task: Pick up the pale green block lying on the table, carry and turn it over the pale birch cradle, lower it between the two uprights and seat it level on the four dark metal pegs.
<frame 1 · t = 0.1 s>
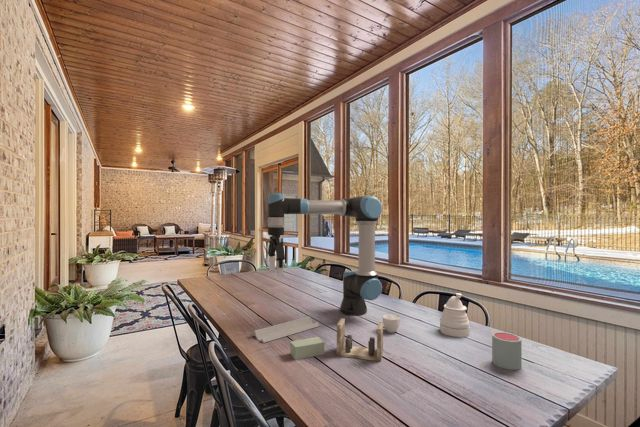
hand: (275, 272, 146), 28 cm above the table, fingers open, 13 cm apart
cup: (392, 331, 149), on the table
pale green block: (307, 354, 124), on the table
honey pot: (454, 332, 147), on the table
crown molding: (286, 332, 148), on the table
frame: (360, 353, 123), on the table
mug: (506, 361, 117), on the table
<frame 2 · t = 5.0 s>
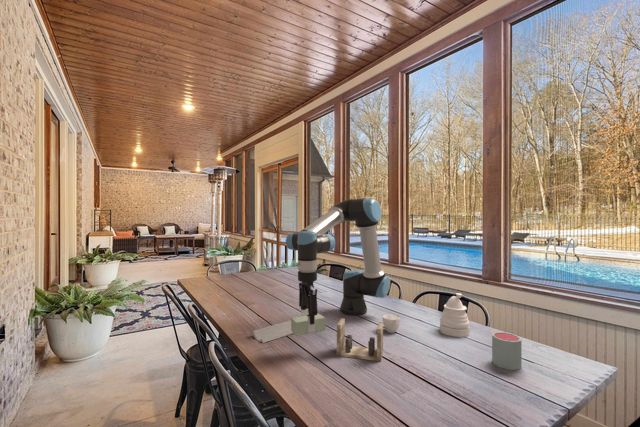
hand: (308, 328, 124), 10 cm above the table, fingers closed on pale green block, 6 cm apart
pale green block: (308, 330, 124), point 9 cm above the table, touching gripper
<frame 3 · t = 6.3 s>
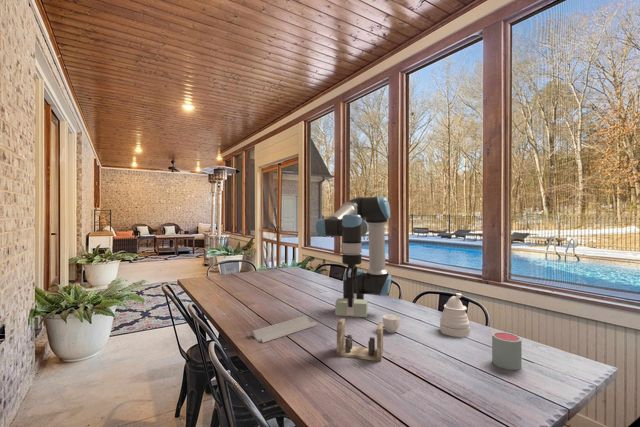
hand: (351, 312, 124), 16 cm above the table, fingers closed on pale green block, 6 cm apart
pale green block: (351, 313, 124), point 16 cm above the table, touching gripper
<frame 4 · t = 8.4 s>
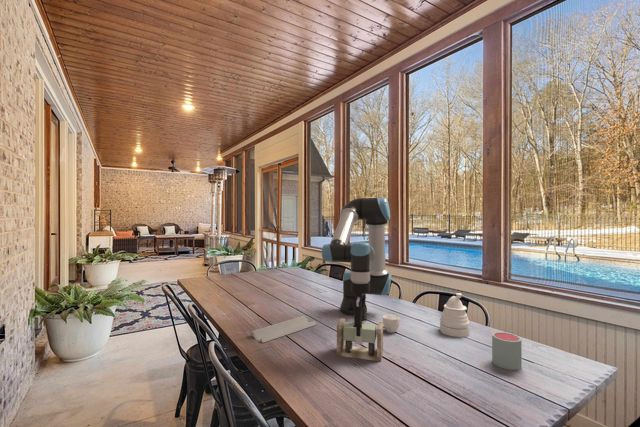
hand: (360, 340, 123), 5 cm above the table, fingers closed on pale green block, 6 cm apart
pale green block: (360, 338, 123), point 6 cm above the table, touching frame, gripper
when the fingers open (5 cm above the table, at t = 8.5 s): pale green block stays where it is, resting on frame.
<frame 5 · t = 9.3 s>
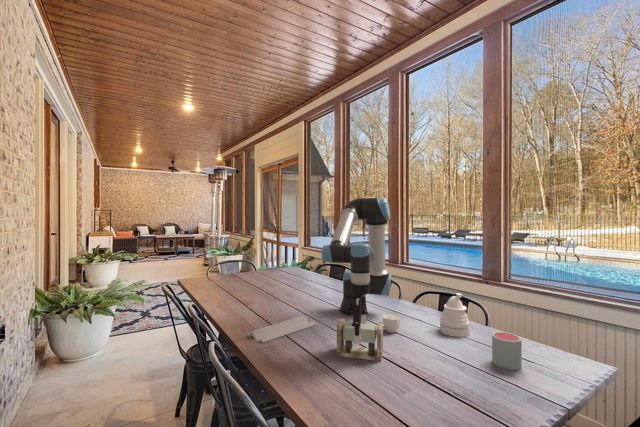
hand: (360, 336, 124), 7 cm above the table, fingers open, 13 cm apart
pale green block: (360, 338, 123), point 6 cm above the table, touching frame
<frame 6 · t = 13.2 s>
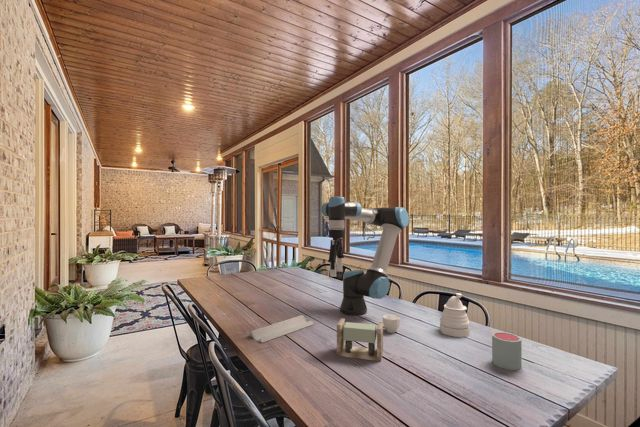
hand: (336, 273, 149), 27 cm above the table, fingers open, 13 cm apart
at the end: pale green block 0.1 cm off-centre on the frame, point 6.0 cm above the frame's base; pale green block tilted 0°; the gripper is holding nothing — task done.
